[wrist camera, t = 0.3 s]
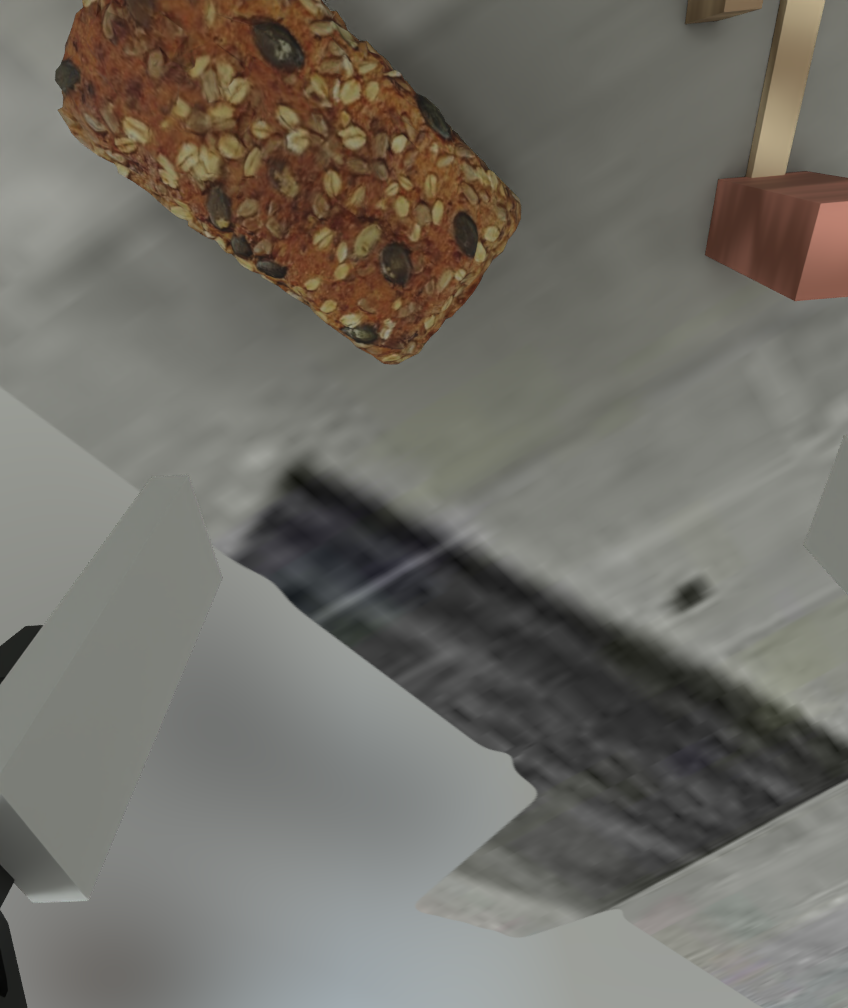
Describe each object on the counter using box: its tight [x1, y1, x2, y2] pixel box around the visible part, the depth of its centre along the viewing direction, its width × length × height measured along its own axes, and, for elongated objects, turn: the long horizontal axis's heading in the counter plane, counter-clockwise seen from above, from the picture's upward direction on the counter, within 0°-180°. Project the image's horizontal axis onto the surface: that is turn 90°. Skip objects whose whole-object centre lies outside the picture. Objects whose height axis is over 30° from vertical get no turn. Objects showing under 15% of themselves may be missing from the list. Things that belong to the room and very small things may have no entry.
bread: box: [55, 0, 521, 364], centre depth 28 cm, size 19×11×10 cm, turn 50°
